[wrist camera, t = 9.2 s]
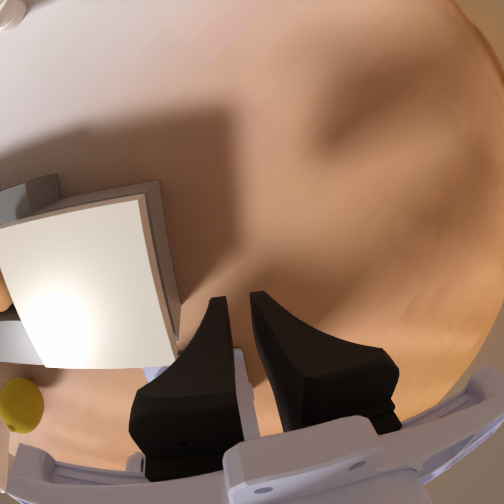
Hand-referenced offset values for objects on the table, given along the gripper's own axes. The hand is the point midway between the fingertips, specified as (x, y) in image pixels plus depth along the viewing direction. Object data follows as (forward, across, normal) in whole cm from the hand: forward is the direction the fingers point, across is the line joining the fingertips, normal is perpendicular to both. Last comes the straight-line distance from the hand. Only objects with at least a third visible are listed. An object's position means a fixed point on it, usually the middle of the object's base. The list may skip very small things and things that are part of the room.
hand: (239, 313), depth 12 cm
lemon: (+10, +25, +14) cm, 30 cm away
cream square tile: (+4, +9, 0) cm, 10 cm away
